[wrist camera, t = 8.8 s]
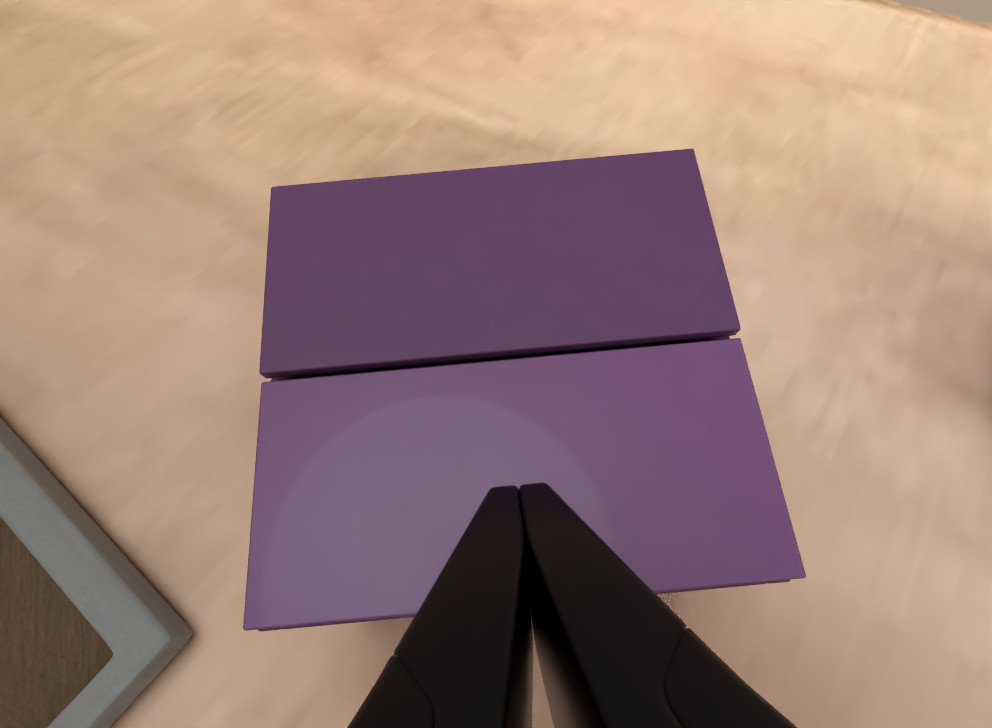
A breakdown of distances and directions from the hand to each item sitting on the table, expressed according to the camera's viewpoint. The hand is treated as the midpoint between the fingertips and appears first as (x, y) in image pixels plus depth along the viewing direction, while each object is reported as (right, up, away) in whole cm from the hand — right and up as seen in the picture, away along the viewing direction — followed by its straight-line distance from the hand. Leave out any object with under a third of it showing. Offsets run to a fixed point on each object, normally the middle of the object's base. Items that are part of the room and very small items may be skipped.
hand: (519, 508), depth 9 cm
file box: (0, -1, +13) cm, 13 cm away
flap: (0, 0, +4) cm, 4 cm away
